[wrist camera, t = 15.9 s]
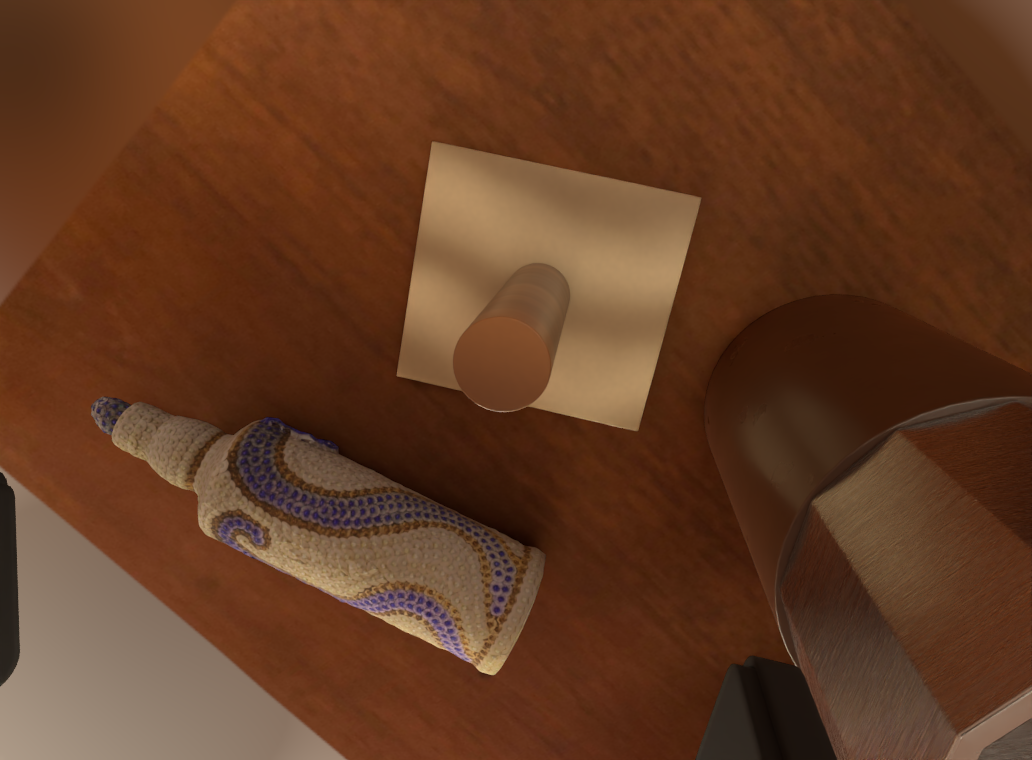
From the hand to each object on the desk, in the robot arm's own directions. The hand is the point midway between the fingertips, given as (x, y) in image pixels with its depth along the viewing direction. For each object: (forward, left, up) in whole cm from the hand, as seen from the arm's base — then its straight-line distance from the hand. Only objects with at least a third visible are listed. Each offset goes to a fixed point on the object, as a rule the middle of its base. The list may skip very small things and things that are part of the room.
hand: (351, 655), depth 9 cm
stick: (0, 0, -27) cm, 27 cm away
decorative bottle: (+13, -8, -28) cm, 33 cm away
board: (0, 0, -28) cm, 28 cm away
